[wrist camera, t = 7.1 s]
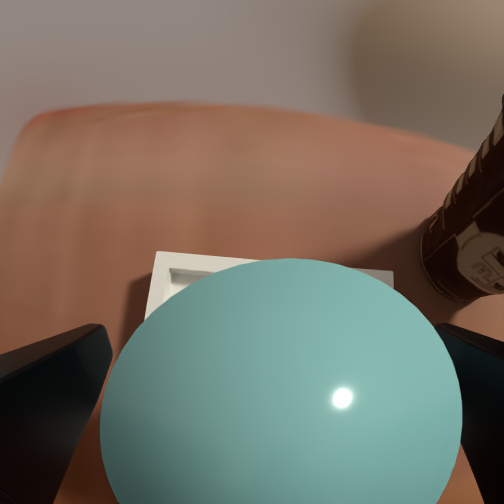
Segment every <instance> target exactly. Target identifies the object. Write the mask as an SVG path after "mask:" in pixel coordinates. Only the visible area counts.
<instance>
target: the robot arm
mask: <svg viewBox="0 0 504 504" xmlns="http://www.w3.org/2000/svg"><path fill="white" fill-rule="evenodd" d="M434 329H435V330H436V332H437V333H438V335H439V337H440V338H441V340H442V341H443V343H444V345H445V347H446V349H447V351H448V353H449V355H450V358H451V360H452V362H453V365H454V368H455V372H456V375H457V378H458V382H459V387H460V393H461V400H462V430H461V439H460V443H461V445H462V447H463V450H464V452H465V455H466V457H467V459H468V462H469V464H470V467H471V469H472V472H473V474H474V477H475V479H476V482H477V485H478V487H479V490H480V493H481V496H482V498H483V501H484V504H504V342H502V341H499V340H496V339H493V338H490V337H487V336H484V335H482V334H479V333H476V332H473V331H470V330H467V329H464V328H461V327H458V326H455V325H452V324H448V323H444V324H437V325H435V326H434ZM112 356H113V351H112V347H111V344H110V340H109V337H108V334H107V331H106V328H105V327H104V326H103V325H101V324H92V323H91V324H87V325H84V326H81V327H78V328H76V329H73V330H70V331H67V332H64V333H61V334H59V335H56V336H53V337H50V338H47V339H44V340H41V341H38V342H36V343H33V344H30V345H27V346H24V347H21V348H18V349H15V350H12V351H10V352H7V353H4V354H1V355H0V504H53V503H54V500H55V498H56V495H57V493H58V490H59V487H60V485H61V483H62V480H63V478H64V475H65V473H66V470H67V468H68V466H69V463H70V461H71V459H72V456H73V454H74V452H75V449H76V447H77V445H78V443H79V440H80V438H81V436H82V434H83V431H84V429H85V427H86V425H87V423H88V420H89V418H90V416H91V414H92V412H93V410H94V408H95V405H96V403H97V401H98V398H99V396H100V393H101V390H102V387H103V384H104V381H105V378H106V375H107V372H108V369H109V366H110V364H111V361H112Z"/></svg>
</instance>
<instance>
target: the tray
mask: <svg viewBox="0 0 504 504" xmlns="http://www.w3.org/2000/svg"><path fill="white" fill-rule="evenodd" d="M256 261H261V260H251V259H240V258H228V257H217V256H206V255H194V254H183V253H172V252H161V251H157V253H156V258H155V263H154V268H153V274H152V279H151V284H150V290H149V296H148V301H147V307H146V313H145V320H146V318H147V317H148V316H149V315H150V314H151V313H152V312H153V311H154V310H156V309H157V308H158V307H159V306H160V305H162V304H163V303H164V302H165V301H166V300H168V299H169V298H170V297H171V296H173V295H174V294H176V293H178V292H179V291H181V290H182V289H184V288H186V287H187V286H189V285H190V284H192V283H194V282H196V281H198V280H200V279H202V278H205V277H207V276H209V275H211V274H213V273H215V272H218V271H222V270H225V269H228V268H231V267H234V266H237V265H241V264H246V263H251V262H256ZM351 269H354V270H357V271H360V272H363V273H365V274H367V275H369V276H371V277H373V278H375V279H377V280H379V281H381V282H383V283H385V284H386V285H388V286H389V287H391V288H392V289H394V282H393V271H383V270H371V269H358V268H351ZM145 320H144V321H145Z"/></svg>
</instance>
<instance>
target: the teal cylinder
mask: <svg viewBox="0 0 504 504" xmlns="http://www.w3.org/2000/svg"><path fill="white" fill-rule="evenodd" d="M461 430H462V400H461V393H460V387H459V382H458V378H457V375H456V372H455V368H454V365H453V362H452V360H451V358H450V355H449V353H448V351H447V349H446V347H445V345H444V343H443V341H442V340H441V338H440V337H439V335H438V333H437V332H436V330H435V329H434V327H433V326H432V324H431V323H430V322H429V321H428V320H427V319H426V318H425V316H424V315H423V314H422V313H421V312H420V311H419V310H418V309H417V308H416V307H415V306H414V305H413V304H412V303H411V302H409V301H408V300H407V299H406V298H405V297H404V296H402V295H401V294H400V293H399V292H397V291H395V290H394V289H392V288H391V287H389V286H388V285H386V284H385V283H383V282H381V281H379V280H377V279H375V278H373V277H371V276H369V275H367V274H365V273H363V272H360V271H357V270H354V269H351V268H348V267H345V266H342V265H339V264H334V263H329V262H323V261H318V260H309V259H292V258H287V259H272V260H261V261H256V262H251V263H246V264H241V265H237V266H234V267H231V268H228V269H225V270H222V271H218V272H215V273H213V274H211V275H209V276H207V277H205V278H202V279H200V280H198V281H196V282H194V283H192V284H190V285H189V286H187V287H186V288H184V289H182V290H181V291H179V292H178V293H176V294H174V295H173V296H171V297H170V298H169V299H168V300H166V301H165V302H164V303H163V304H162V305H160V306H159V307H158V308H157V309H156V310H154V311H153V312H152V313H151V314H150V315H149V316H148V317H147V318H146V320H145V321H144V322H143V323H142V324H141V325H140V326H139V327H138V328H137V329H136V331H135V332H134V333H133V335H132V336H131V338H130V339H129V340H128V342H127V343H126V345H125V346H124V348H123V349H122V351H121V353H120V355H119V357H118V359H117V361H116V363H115V365H114V367H113V369H112V371H111V374H110V377H109V379H108V382H107V385H106V388H105V391H104V396H103V402H102V407H101V413H100V445H101V453H102V459H103V463H104V467H105V471H106V474H107V478H108V481H109V483H110V485H111V488H112V490H113V492H114V495H115V497H116V499H117V501H118V502H119V504H436V503H437V501H438V499H439V498H440V496H441V494H442V492H443V490H444V488H445V487H446V485H447V482H448V480H449V478H450V475H451V473H452V470H453V467H454V465H455V461H456V457H457V454H458V450H459V445H460V439H461Z"/></svg>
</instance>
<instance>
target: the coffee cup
mask: <svg viewBox="0 0 504 504" xmlns="http://www.w3.org/2000/svg"><path fill="white" fill-rule="evenodd" d="M502 106H503V107H502V110H501V113H500V115H499V117H498V119H497V121H496V123H495V125H494V127H493V130H492V132H491V133H490V135H489V136H488V137H487V139H486V140H484V142H483V143H482V145H481V147H480V149H479V151H478V152H477V153H476V155H475V156H474V158H473V159H472V160H471V161H470V163H469V165H468V167H467V169H466V171H465V172H464V173H463V174H462V175H461V176H460V177H459V178H458V180H457V181H456V183H455V185H454V187H453V188H452V190H451V191H450V192H449V193H448V194H447V196H446V198H445V200H444V203H443V206H442V207H440V208H439V209H438V210H437V211H436V212H435V213H434V214H433V215H432V216H431V217H430V219H429V220H428V222H427V223H426V226H425V228H424V231H423V234H422V238H421V242H420V253H421V263H422V266H423V268H424V270H425V272H426V273H427V275H428V277H429V279H430V280H431V282H432V284H433V285H434V286H435V287H436V288H437V289H438V291H440V292H441V293H442V294H443V295H445V296H447V297H449V298H451V299H454V300H456V301H459V302H472V301H474V300H476V299H478V298H480V297H483V296H488V295H494V294H503V293H504V95H503V97H502Z"/></svg>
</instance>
